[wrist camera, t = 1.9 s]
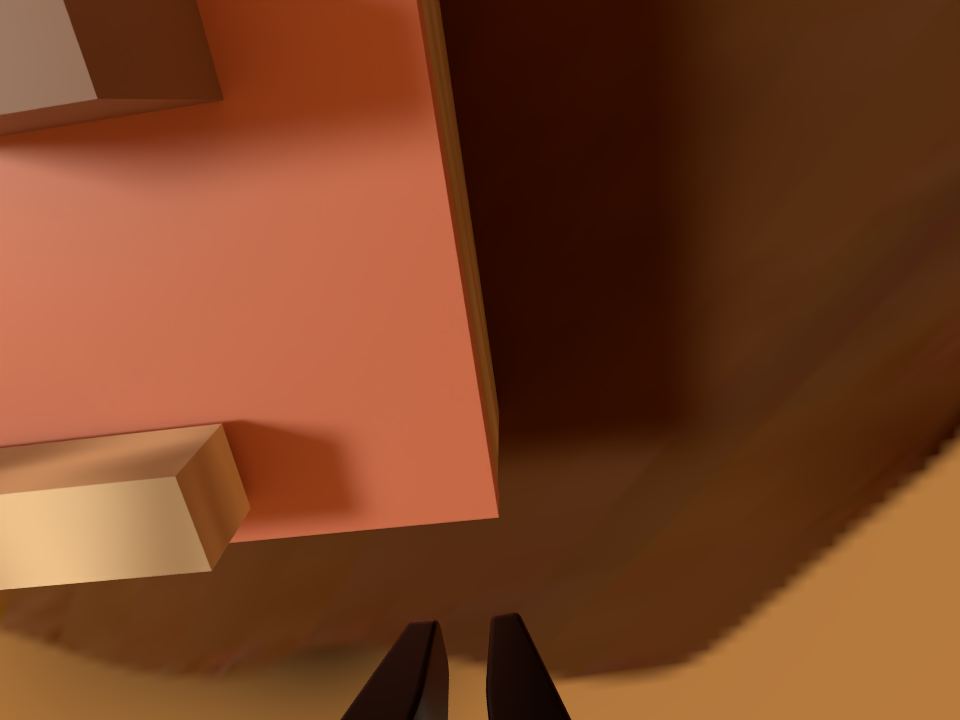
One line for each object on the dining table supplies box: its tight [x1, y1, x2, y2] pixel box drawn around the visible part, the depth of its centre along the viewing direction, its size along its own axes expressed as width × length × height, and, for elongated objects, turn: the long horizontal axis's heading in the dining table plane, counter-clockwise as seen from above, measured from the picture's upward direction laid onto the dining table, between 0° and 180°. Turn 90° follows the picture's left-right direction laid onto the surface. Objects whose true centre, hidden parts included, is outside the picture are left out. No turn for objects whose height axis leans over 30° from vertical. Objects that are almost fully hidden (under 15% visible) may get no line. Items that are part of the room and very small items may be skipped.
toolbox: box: [422, 0, 499, 484], centre depth 15 cm, size 17×15×9 cm
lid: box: [0, 0, 499, 543], centre depth 12 cm, size 14×14×5 cm
